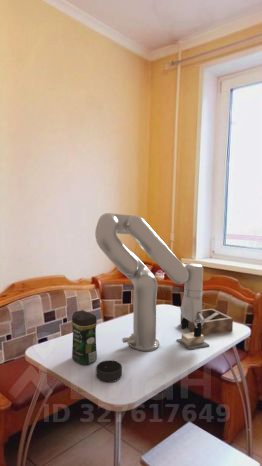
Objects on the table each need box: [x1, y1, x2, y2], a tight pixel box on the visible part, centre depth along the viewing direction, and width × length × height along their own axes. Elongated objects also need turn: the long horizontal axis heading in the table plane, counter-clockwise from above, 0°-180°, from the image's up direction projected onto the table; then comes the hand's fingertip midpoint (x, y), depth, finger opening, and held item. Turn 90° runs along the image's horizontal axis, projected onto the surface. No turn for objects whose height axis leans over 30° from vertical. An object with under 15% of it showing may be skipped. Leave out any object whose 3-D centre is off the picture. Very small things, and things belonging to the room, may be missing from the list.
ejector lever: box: [205, 312, 219, 321], centre depth 159 cm, size 15×6×1 cm, turn 112°
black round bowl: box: [95, 359, 123, 383], centre depth 113 cm, size 9×9×4 cm
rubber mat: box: [176, 338, 210, 351], centre depth 141 cm, size 10×10×1 cm
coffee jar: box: [71, 309, 98, 365], centre depth 124 cm, size 10×8×19 cm
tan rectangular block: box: [181, 332, 205, 345], centre depth 141 cm, size 8×5×3 cm, turn 114°
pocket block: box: [180, 308, 234, 336], centre depth 160 cm, size 19×16×6 cm
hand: (190, 332), depth 140 cm, fingers open, 9 cm apart
